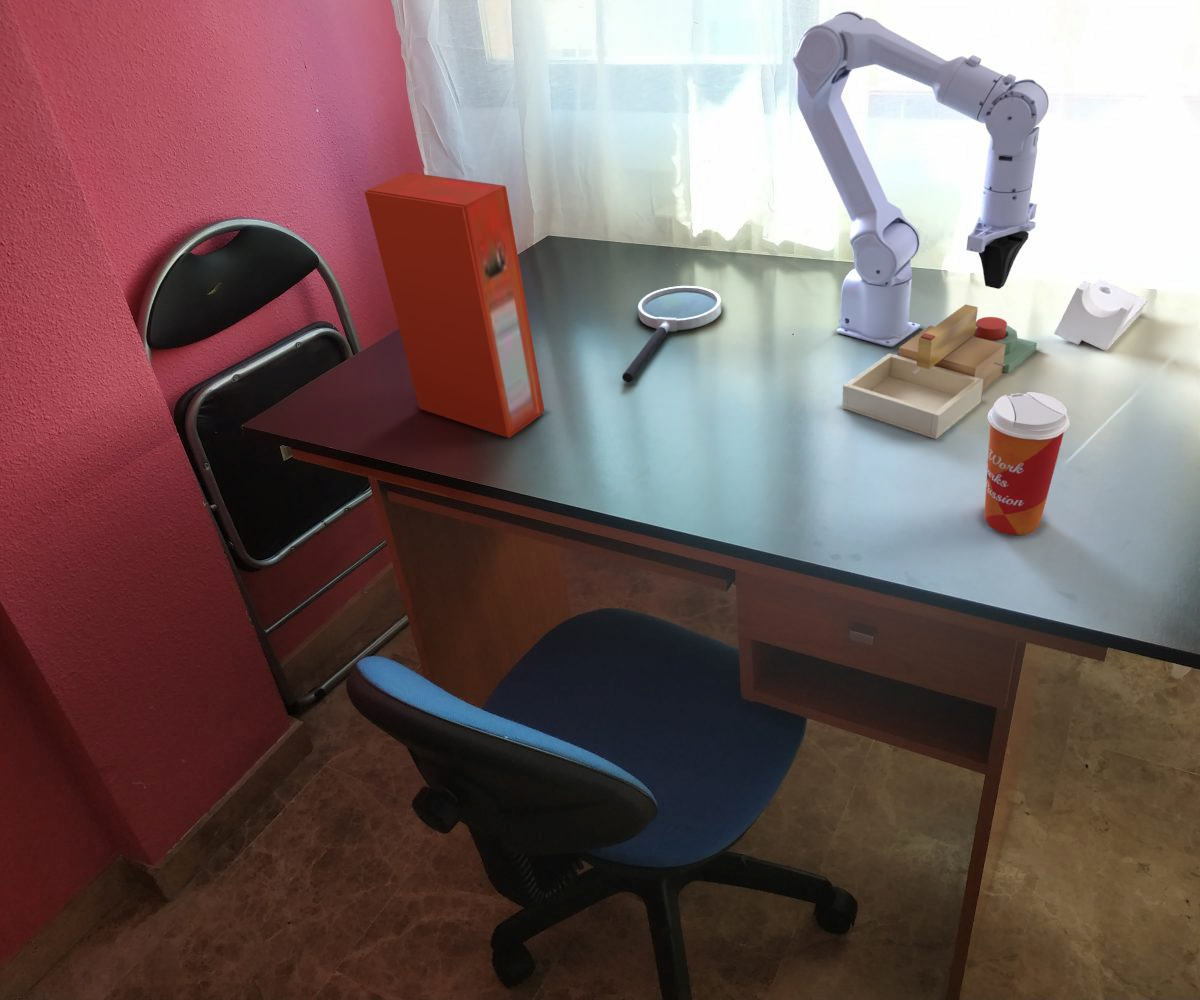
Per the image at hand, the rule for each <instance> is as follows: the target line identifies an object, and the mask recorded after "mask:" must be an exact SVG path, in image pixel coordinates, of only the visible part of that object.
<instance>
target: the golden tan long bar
mask: <svg viewBox="0 0 1200 1000" xmlns="http://www.w3.org/2000/svg"><path fill="white" fill-rule="evenodd" d="M978 309H979V307H978V306H975V305H970V304H964V305H962V306H961V307H960V308H958V309H957V310H955V311H954V312H953V313H952V314H950V315H949V316H948V317H946V318H945V319H942V321H940V322H939V323H938V324H936V325H935V326H934V328H932V329H931V330H929V331H928V332H927V333H924V334H923V335H921V337H920V338H919V343H918V355H917V366H919V367H922V368H926V369H930V368H931V367H933V366H934V365H935V364H936V363H938V362H939V361H940V360H942V359H943V358H944V357H946V356H947V355H948V354H950V353H951V352H952V351H953V350H955V349H956V348H957V347H959V346H960V345H961V344H963V343H964V342H965V341H966V340H968V339H969V338H970V337H972V336H973V335H974V334H975V327H976V322H977V317H978V311H979V310H978Z"/></svg>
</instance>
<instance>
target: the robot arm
mask: <svg viewBox="0 0 1200 1000" xmlns="http://www.w3.org/2000/svg"><path fill="white" fill-rule="evenodd" d="M792 62H793V64H794V66H795V69H796V101H797V106H798V108H799V109H798V110H799V111H800V113H801V115H802V117H803V120H804V121H805V124H806V126H807V128H808V130H809V132H810V134H811V137H812V139H813V141H814V143H815V146H816V147H817V150H818V151H819V154H820V156H821V158H822V160H823V162H824V164H825V167H826V169H827V171H828V173H829V175H830V178H831V180H832V182H833V184H834V186H835V188H836V190H837V192H838V195H839V197H840V199H841V201H842V204H843V206H844V208H845V209H846V212H847V214H848V216H849V218H850V220H851V226H850V227H851V228H850V234H849V244H850V246H851V248H852V251H853V265H854V268H853V269H851V270H850V271H849V272H848V274H846V276H845V278H844V280H843V283H842V285H841V287H842V288H841V291H840V314H839V327H838V328H837V329H836V332H837V333H838V334H841V335H845V336H849V337H852V338H856V339H859V340H862V341H866V342H869V343H874V344H877V345H881V346H883V347H887V348H888V347H889V348H893V347H896V345H897V344H899V343H900V342H902V341H903V340H905V339H907V337H909V336H910V335H912V334H914V332H916V331H917V330H919V329H920V328H921V325H920V324H919V323H915V322H911V321H909V319H910V307H911V295H912V282H913V280H912V279H913V268H912V266H911V260H912V259H913V258H914V257H916V255H917V253H918V252H919V250H920V246H921V237H920V233H919V231H918V230H917V228H916V227H915V226H914V225H913V224H912V223H910V222H909V221H908V219H907V218H906V217H905V216H904V214H903V212H902V210H901V208H900V207H898V206H896V205H894V204H893V203H891V202H889V200H888V199H887V196H886V194H885V192H884V190H883V187H882V185H881V182H880V181H879V178H878V176H877V174H876V172H875V169H874V168H873V164H871V161H870V159H869V156H868V154H867V151H866V150H865V148H864V145H863V144H862V142H861V139H860V137H859V135H858V133H857V130H856V128H855V126H854V123H853V121H852V119H851V117H850V115H849V112H848V110H847V108H846V106H845V104H844V101H843V99H842V95H843V92H844V89H845V86H846V84H847V82H848V79H849V77H850V74H851V72H852V71H853V70H855V69H859V68H865V67H869V66H873V65H876V66H879V67H881V68H884V69H886V70H888V71H891V72H894V73H896V74H898V75H901V76H903V77H906V78H909V79H911V80H912V81H915V82H918V83H920V84H922V85H925V86H927V87H930V88H931V89H932V91H933V94H934V97H935V100H936V102H937V103H939V104H941V105H943V106H946V107H947V108H950V109H951V110H953V111H955V112H957V113H960V114H962V115H964V116H966V117H968V118H970V119H972V120H974V121H976V122H978V123H980V124H984V125H985V128H986V130H987V132H988V134H989V136H990V138H989V146H988V150H987V158H986V164H985V165H986V166H985V167H986V168H985V174H984V182H983V183H984V184H983V190H982V199H981V208H980V216H979V217H978V219H977V221H976V223H975V226H974V228H973V231H972V232H971V233H970V234H969V235H968V236H967V240H966V251H968V252H974V253H978V255H979V259H980V262H981V267H982V273H983V279H984V285H985V287H989V288H992V289H997V290H1000V289H1002V288H1003V287H1004V286H1005V284H1006V282H1007V280H1008V278H1009V275H1010V272H1011V269H1012V267H1013V265H1014V262H1015V260H1016V258H1017V256H1018V254H1019V252H1020V250H1021V249H1022V247H1023V246H1024V244H1025V243H1026V242H1027V240H1028V239H1029V235H1030V232H1031V231H1032V230H1034V229H1035V228H1036V222H1035V221H1033V220H1034V219H1035V218H1036V213H1037V205H1038V203H1033V202H1030V201H1031V196H1032V189H1033V182H1034V175H1035V170H1036V169H1035V168H1036V160H1037V155H1038V141H1039V133H1040V126H1038V125H1039V124H1040V123H1041V122H1042V121H1043V119H1044V118H1045V117H1046V115H1047V112H1048V111H1049V102H1050V101H1049V97H1048V93H1047V92H1046V90H1045V88H1044V87H1042V86H1041V85H1040V84H1039V83H1037V82H1036V81H1035V80H1034V79H1031V78H1024V79H1019V80H1017V77H1016V76H1015V75H1013V74H1011V73H1008V74H1007V75H1003V74H1001V73H1000V72H997V71H995V70H993V69H991V68H989V67H987V66H985V65H982V64H981V62H982V58H980V57H978V56H976V55H974V54H973V55H970V56H969V57H968V58H967V57H965V56H962V55H961V56H958V57H955V58H953V59H951V60H946V59H944V58H942V57H940V56H938V55H937V54H935V53H933V52H931V51H929V50H928V49H926V48H923V46H920V45H918V44H916V43H915V42H912V41H911V40H909V39H907V38H905V37H903V36H902V35H900V34H898V33H896V32H894V31H892V30H891V29H888V28H887V27H885V26H884V25H882V24H881V23H880V22H878V21H877V20H876V19H873V18H870V17H863V16H862V15H861V14H859V13H858V12H855V11H851V10H849V11H842V12H840V13H838V14H836V15H835V16H833V18H830V19H827V20H826V21H824V22H822V23H820V24H816V25H813V26H811V27H809V28H808V29H807V30H805V32H804V33H803V34H802V35H801V37H800V39H799V41H798V44H797V46H796V49H795V52H794V54H793V57H792ZM892 334H894V335H897V336H901V337H902V338H896V337H892V336H891V335H892Z"/></svg>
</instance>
